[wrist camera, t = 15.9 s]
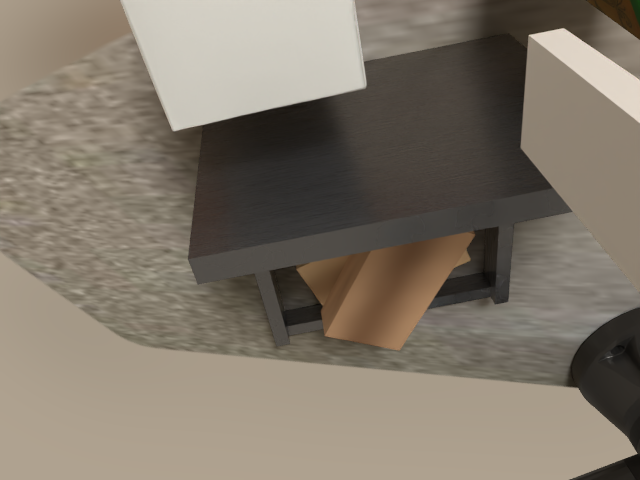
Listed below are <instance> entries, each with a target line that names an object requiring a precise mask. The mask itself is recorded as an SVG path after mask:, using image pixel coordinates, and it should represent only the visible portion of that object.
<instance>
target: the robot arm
mask: <svg viewBox="0 0 640 480" xmlns="http://www.w3.org/2000/svg"><path fill="white" fill-rule="evenodd" d="M521 149H522V150H523V151H524V153H525V154H526V155H527V156H528V157H529V159H530V160H531V161H532V162H533V164H534V165H535V166H536V167H537V168H538V170H539V171H540V172H541V173H542V175H543V176H544V177H545V178H546V179H547V181H548V182H549V183H550V184H551V186H552V187H553V188H554V189H555V190H556V192H557V193H558V194H559V195H560V196H561V198H562V199H563V200H564V201H565V203H566V204H567V205H568V206H569V207H570V209H571V210H572V211H573V212H574V214H575V215H576V216H577V217H578V218H579V220H580V221H581V222H582V223H583V225H584V226H585V227H586V228H587V229H588V231H589V232H590V233H591V234H592V235H593V237H594V238H595V239H596V240H597V242H598V243H599V244H600V245H601V246H602V248H603V249H604V250H605V251H606V253H607V254H608V255H609V256H610V257H611V259H612V260H613V261H614V262H615V263H616V265H617V266H618V267H619V268H620V270H621V271H622V272H623V273H624V274H625V276H626V277H627V278H628V279H629V281H630V282H631V283H632V284H633V285H634V287H635V288H636V289H637V290H638V292H639V293H640V80H639V79H637V78H636V77H635V76H633V75H632V74H630V73H629V72H627V71H626V70H624V69H623V68H621V67H620V66H618V65H617V64H616V63H614V62H613V61H611V60H610V59H608V58H607V57H605V56H604V55H602V54H601V53H599V52H598V51H597V50H595V49H594V48H592V47H591V46H589V45H588V44H586V43H585V42H583V41H582V40H580V39H579V38H578V37H576V36H575V35H573V34H572V33H570V32H569V31H567V30H566V29H564V28H562V29H557V30H552V31H547V32H542V33H537V34H532V35H529V37H528V51H527V65H526V78H525V92H524V106H523V120H522V134H521ZM572 376H573V379H574V381H575V383H576V385H577V386H578V388H579V390H580V392H581V393H582V395H583V396H584V398H585V399H586V400H587V401H588V402H589V403H590V404H591V405H592V406H594V407H595V408H596V409H597V410H598V411H599V412H600V413H601V414H602V415H604V416H605V417H606V418H607V419H608V420H609V421H610V422H612V423H613V424H614V425H615V426H616V427H617V428H618V429H620V430H621V431H622V432H623V433H624V434H625V435H626V436H627V437H628V438H629V440H630V442H631V443H632V445H633V446H634V448H635V450H636V452H637V453H638V454H636V455H634V456H631V457H628V458H626V459H623V460H620V461H618V462H615V463H612V464H610V465H607V466H605V467H602V468H599V469H597V470H594V471H591V472H589V473H586V474H584V475H581V476H578V477H576V478H573V479H570V480H640V308H637V309H634V310H632V311H629V312H627V313H625V314H623V315H621V316H619V317H617V318H615V319H613V320H611V321H610V322H608V323H607V324H605V325H604V326H602V327H601V328H600V329H598V330H597V331H596V332H595V333H593V334H592V335H591V336H590V337H589V338H588V339H587V340H586V341H585V343H584V344H583V345H582V346H581V348H580V349H579V351H578V352H577V354H576V356H575V358H574V361H573V364H572Z"/></svg>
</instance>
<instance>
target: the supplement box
mask: <svg viewBox="0 0 640 480" xmlns="http://www.w3.org/2000/svg"><path fill="white" fill-rule="evenodd" d="M120 2H121V4H122V7H123V10H124V12H125V15H126V17H127V19H128V22H129V25H130V27H131V30H132V32H133V35H134V37H135V40H136V42H137V45H138V47H139V50H140V52H141V55H142V57H143V60H144V62H145V65H146V67H147V70H148V72H149V75H150V77H151V80H152V82H153V85H154V87H155V90H156V92H157V95H158V97H159V100H160V102H161V105H162V107H163V109H164V112H165V114H166V117H167V119H168V121H169V124H170V126H171V129H172V131H174V132H175V131H179V130H182V129H186V128H191V127H196V126H200V125H205V124H209V123H213V122H218V121H221V120H226V119H230V118H234V117H238V116H242V115H247V114H251V113H256V112H260V111H264V110H269V109H273V108H278V107H283V106H287V105H292V104H296V103H301V102H306V101H311V100H315V99H320V98H324V97H329V96H334V95H338V94H343V93H348V92H353V91H358V90H363V89H365V88H366V85H367V84H366V75H365V68H364V61H363V55H362V48H361V42H360V35H359V28H358V22H357V15H356V8H355V2H354V0H120Z"/></svg>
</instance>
